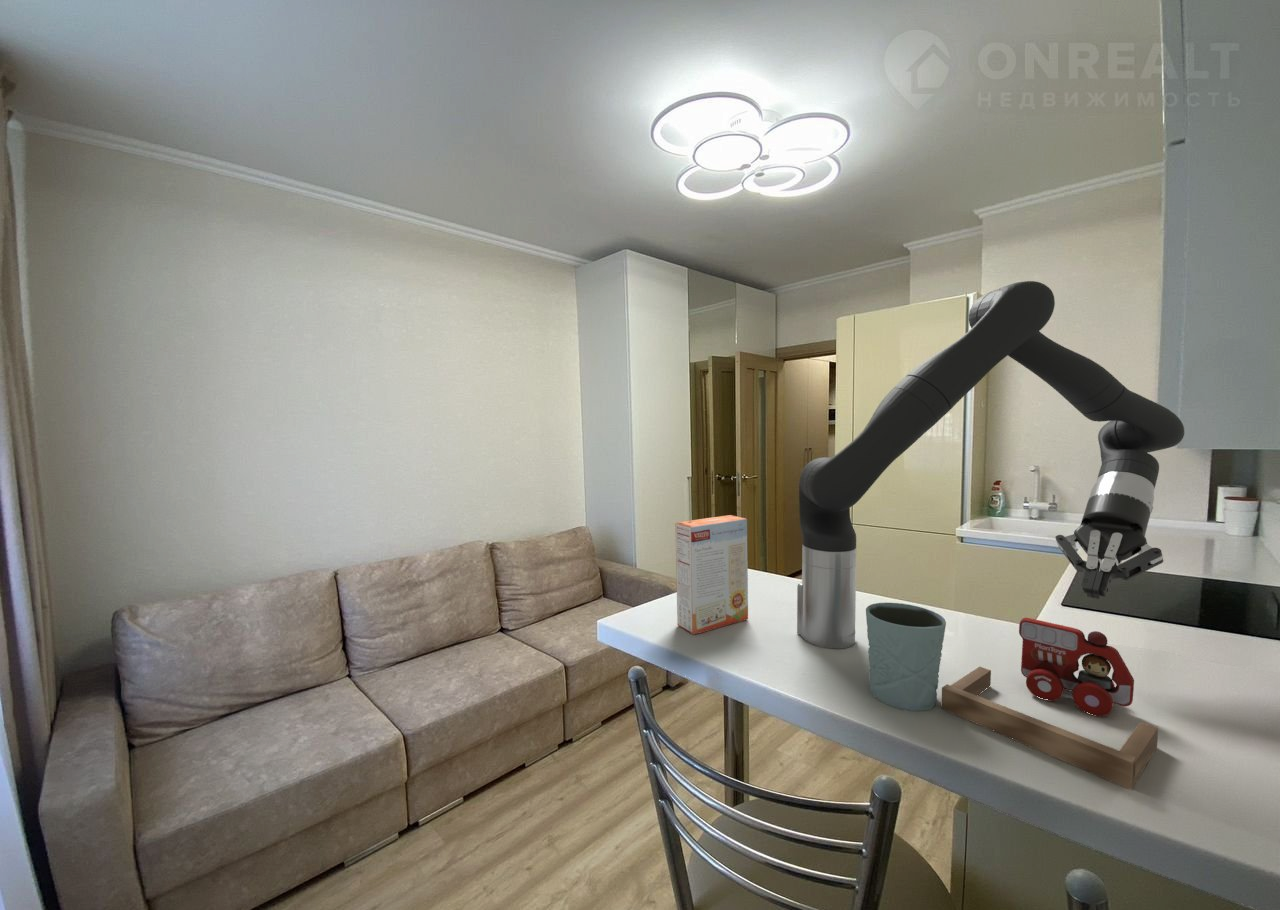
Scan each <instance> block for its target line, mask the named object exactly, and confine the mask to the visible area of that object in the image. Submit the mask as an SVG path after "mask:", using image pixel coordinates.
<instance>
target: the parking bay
mask: <svg viewBox="0 0 1280 910" xmlns="http://www.w3.org/2000/svg"><path fill="white" fill-rule="evenodd" d="M991 680H992V670H991V669H989V668H986V667H983V666H978V667H977V668H975V669H973V670H972V671H970V672H969V673H967V674H966V675H964V676H963V677H960V678H959V679H958V680H957V681H955V682H952V684H945V685H944V686H942V687H941V710H943V711H946V712H948V713H951V714H953V715H956V716H958V717H960V718H963V719H964V718H965V719H964V720H967V721H970V722H971V721H972V723H974V724H976V723H977V724H976V725H978V724H979V726H981V727H983V726H984V727H983V728H985V727H986V728H985V729H988V730H990V729H991V731H992V730H994V731H993V732H995V733H997V732H998V733H997V734H999V733H1000V735H1002V734H1003V735H1002V736H1004V737H1007V738H1009V737H1010V738H1009V739H1011V738H1013V739H1012V740H1014V741H1016V740H1017V741H1016V742H1018V741H1019V742H1018V743H1021V744H1023V745H1025V746H1028V747H1030V748H1033V749H1034V750H1037V751H1038V752H1039V751H1040V752H1041V753H1044V754H1046V755H1049V756H1051V757H1053V758H1056V759H1058V760H1061V761H1062V762H1065V763H1068V764H1070V765H1072V766H1075V767H1076V768H1079V769H1082V770H1083V771H1086V772H1088V773H1091V774H1093V775H1095V776H1098V777H1100V778H1102V779H1105V780H1107V781H1110V782H1111V783H1114V784H1117V785H1119V786H1121V787H1123V788H1126V789H1128V790H1132V789H1133V787H1134V786H1135V784H1136V782H1137V780H1138V779H1139V778H1140V776H1141V774H1142V773H1143V771H1144V769H1145V768H1146V767H1147V765H1148V763H1149V762H1150V760H1151V758H1152V757H1151V756H1153V755H1152V754H1154V753H1155V752H1156V750H1157V748H1158V735H1159V727H1157V726H1155V725H1151V724H1148V723H1146V722H1143V721H1140V722H1139V723H1138V724H1137V726H1136V727H1135V729H1134V730H1133V732H1132V733H1131V734H1130V736H1129V737H1128V738H1127V740H1126V741H1125V742H1124V744H1123V745H1122V747H1121V748H1120V750H1118V749H1116V748H1113V747H1110V746H1108V745H1105V744H1102V743H1100V742H1098V741H1094V740H1092V739H1089V738H1087V737H1084V736H1081V735H1079V734H1076V733H1075V732H1071V731H1069V730H1066V729H1065V728H1061V727H1059V726H1055V725H1053V724H1052V723H1051V724H1050V723H1049V722H1045V721H1043V720H1040V719H1038V718H1035V717H1034V716H1030V715H1028V714H1025V713H1023V712H1020V711H1018V710H1015V709H1012V708H1011V707H1010V708H1009V707H1007V706H1005V705H1002V704H999V703H996V702H994V701H991V700H990V699H987V698H984V697H981V696H980V695H981V694H982V693H983V692H982V691H984V690H985V689H986V688H988V687H989V686H990V685H992V684H991V683H992V682H991ZM990 687H991V686H990ZM990 687H989V688H990ZM989 688H988V689H989ZM985 691H986V690H985ZM985 691H984V692H985ZM981 692H982V693H981ZM980 693H981V694H980ZM979 694H980V695H979ZM977 695H978V696H977ZM1155 749H1156V750H1155ZM1154 751H1155V752H1154ZM1153 752H1154V753H1153ZM1150 757H1151V758H1150ZM1149 759H1150V760H1149ZM1146 764H1147V765H1146ZM1144 767H1145V768H1144Z"/></svg>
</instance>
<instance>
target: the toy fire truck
mask: <svg viewBox="0 0 1280 910" xmlns="http://www.w3.org/2000/svg"><path fill="white" fill-rule="evenodd" d="M1018 634H1019V636H1020V637H1021V639H1022V645H1021V663H1020V665H1021V666H1020V671H1021V674H1022V676H1023V677H1025V678H1026V679H1025V684H1026V687H1027V689H1028V691H1029V692H1030V693H1031V694H1032V695H1033V696H1034V695H1035V696H1034V697H1036V696H1038V697H1040V698H1043V699H1048V700H1051V701H1050V702H1055V701H1057V700H1059V699H1060V698H1061V697H1062V695H1063V693H1064V690H1067V691H1070V692H1072V693H1071V694H1072V701H1073V702H1074V704H1075V705H1076V707H1077V708H1078V709H1080V710H1081V711H1082V712H1084V711H1085V712H1088V713H1090V714H1093V715H1096V716H1095V717H1105V716H1108V715H1109V714H1111V712H1112V710H1113V706H1114V705H1118V706H1122V707H1129V706H1131V705H1132V704H1133V701H1134V687H1135V678H1134V677H1133V675H1132V674H1131V671H1130V670H1129V668H1128V666H1127V664H1126V663H1125V660H1124V659H1123V657H1122V655H1121V654H1120V652H1119V651H1118V649H1116V648H1115V647H1114V646H1112V645H1111V646H1110V645H1108V638H1107V636H1106V634H1104V633H1102V632H1101V631H1095V630H1094V631H1091V632H1089V633H1088V634H1087V638H1086V635H1085V634H1084V632H1083V631H1082V630H1081V629H1078V628H1074V627H1071V626H1066V625H1064V624H1063V625H1062V624H1057V623H1052V622H1048V621H1043V620H1039V619H1035V618H1031V617H1023V618H1022V619H1020V621H1019V624H1018ZM1081 657H1082V659H1081V666H1082V668H1083V669H1082V670H1079V669H1080V667H1079V666H1080V664H1079V660H1080V658H1081ZM1111 669H1113V671H1112V675H1111V677H1110V676H1109V674H1110V672H1111ZM1075 672H1078V676H1077V677H1076V675H1075ZM1114 683H1115V684H1114ZM1085 712H1084V713H1085ZM1090 714H1089V715H1090ZM1093 715H1092V716H1093Z"/></svg>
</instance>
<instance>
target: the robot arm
mask: <svg viewBox="0 0 1280 910" xmlns="http://www.w3.org/2000/svg"><path fill="white" fill-rule="evenodd" d="M1055 304H1056V302H1055V295H1054V292H1053V291H1052V289H1051V288H1050V287H1049V286H1048V285H1046V284H1044V283H1043V282H1039V281H1034V280H1024V281H1018V282H1014V283H1010V284H1008V285H1004V286H1003V287H999V288H997V289H995V290H992V291H990V292H987V293H985V294H983V295H982V296H980V297H979V298H977V299H976V300H975V301H974V302H973V304H971V307H970V309H969V312H968V323H969V327H970V329H969V330H968V331H967V332H966V333H964V334H963V336H961V337H959V338H958V339H957V340H955V341H954V342H953V343H951V344H949V345H947V347H944V349H942V350H940V351H938V352H937V353H935V354H934V355H932V356H930V357H928V358H927V359H926V360H925V361H923V362H922V363H920V364H919V365H917V366H916V367H915V368H914V369H912V370H911V371H909V373H908V374H906V375H905V376H904V377H903V378H902V379H901V380H900V381H899V382H898V383H897V384H896V385H894V387H893V388H892V389H891V390H890V391H889V392H888V393H887V394H886V395H885V396H884V398H883V399H882V400H881V401H880V403H879V405H878V406H877V407H876V409H875V411H874V412H873V414H872V415H871V418H870V419H869V421H868V423H867V424H866V425H865V427H864V428H863V430H862V431H861V432H860V433H859V435H858V436H857V437H855V439H853V440H852V441H851V442H850V443H849V444H848V445H846V446H845V447H844V448H842V449H841V450H840V451H839V452H838V453H836V454H835V455H833V456H832V457H828V456H827V457H824V456H823V457H818V458H815V459H813V460H811V461H810V462H808V463H807V464H806V465H805V466H804V467H803V469H802V471H801V473H800V476H799V480H798V481H799V483H798V506H799V507H798V508H799V509H798V512H799V527H800V531H801V536H802V537H801V538H802V539H801V540H802V547H801V549H802V550H801V551H802V553H801V554H802V555H801V557H802V559H801V561H802V562H801V563H802V565H801V568H802V569H801V570H802V571H801V582H799V583H797V589H796V591H797V595H796V596H797V599H796V604H797V605H796V607H797V608H796V609H797V611H796V616H797V617H796V619H797V621H796V623H797V624H796V633H797V635H798V634H799V635H800V636H801V637H802V638H803V639H804V640H805V641H806V642H809V644H812V645H814V646H819V647H822V648H830V649H844V648H848V647H852V646H853V645H854V644H855V642H856V610H857V609H856V608H857V607H856V606H857V605H856V601H857V599H856V598H857V597H856V595H857V594H856V593H857V589H856V588H857V535H856V534H857V533H856V531H855V529H854V526H853V523H852V519H851V511H850V510H851V508H852V507H853V506H854V505H855V504H857V503H858V502H859V501H860V500H861V499H862V497H864V496H865V494H866V493H867V492H868V491H869V489H870V488H871V487H872V486H873V485H874V483H875V482H876V481H877V480H878V479H879V478H880V477H881V475H882V474H883V473H884V472H885V471H886V470H887V468H889V467H890V465H892V463H893V462H895V461H896V459H898V458H899V457H900V456H901V455H902V454H904V453H905V452H906V451H907V450H908V449H910V447H911V446H913V444H915V443H916V442H917V441H918V440H919V439H920V438H921V437H922V436H923V435H924V434H925V433H927V432H928V431H929V430H930V429H932V427H933V426H935V425H936V424H937V423H938V422H939V421H940V420H941V419H942V418H943V417H945V415H947V414H948V413H949V412H950V411H951V410H952V409H953V408H954V407H955V406H956V405H957V403H959V402H960V401H961V399H963V398H964V397H965V396H966V395H967V394H968V393H969V392H970V391H971V390H972V389H973V388H974V387H975V386H977V384H979V383H980V381H982V379H983V378H985V376H986V375H987V374H988V373H990V372H991V370H993V369H994V367H996V366H997V365H998V364H999V363H1000V362H1001V361H1002V360H1004V359H1005V358H1006V357H1007V356H1008V357H1009V358H1011V359H1012V360H1014V361H1015V362H1017V363H1018V364H1020V365H1021V366H1023V367H1024V368H1026V369H1027V370H1028V371H1030V372H1031V373H1033V374H1035V376H1037V377H1039V378H1040V379H1041V380H1042V381H1043V382H1045V383H1047V385H1049V386H1050V387H1052V389H1054V390H1055V391H1056V392H1057V393H1058V394H1059V395H1061V396H1062V398H1064V399H1065V400H1066V401H1067V402H1068V403H1069V404H1071V406H1073V407H1074V408H1075V409H1076V410H1077V411H1078V412H1079V413H1081V415H1083V416H1084V417H1085V418H1086V419H1088V420H1090V421H1092V422H1106V423H1105V424H1104V425H1102V427H1101V428H1100V430H1099V431H1098V436H1097V439H1098V440H1097V441H1098V444H1099V449H1100V450H1099V451H1100V452H1099V453H1100V458H1101V466H1100V469H1099V471H1098V475H1097V478H1096V480H1095V483H1094V484H1093V486H1092V488H1091V490H1090V494H1089V496H1088V499H1087V503H1086V506H1085V508H1084V513H1083V516H1082V519H1081V523H1080V525H1079V526H1078V527H1077V528H1076V529H1075V530H1074V531H1073V534H1071V535H1066V536H1065V535H1062V534H1057V535H1056V536H1055V538H1054V539H1055V541H1056V543H1057V546H1058V549H1060V551H1061V552H1062V554H1063V555H1064V556H1065V557H1066V559H1067V560H1068V561H1069V563H1070V564H1071V566H1072V567H1073V569H1075V571H1077V572H1078V573H1084V575H1083V578H1082V582H1081V588H1082V591H1083V593H1085V594H1086V596H1087V598H1091V599H1097V600H1101V599H1102V597H1107V596H1108V595H1109V591H1110V588H1111V584H1112V581H1113V580H1115V579H1121V580H1122V581H1129V580H1130V579H1133V578H1135V577H1137V576H1139V575H1142V574H1143V573H1145V572H1147V571H1149V570H1151V569H1153V568H1155V567H1156V566H1159V565H1161V564H1162V563H1164V556H1163V553H1162V549H1160V548H1159V547H1152V546H1151V545H1149V544H1148V542H1147V538H1146V533H1147V528H1148V525H1149V521H1150V518H1151V514H1152V512H1153V510H1154V501H1155V500H1154V499H1155V496H1154V495H1155V488H1156V485H1157V480H1158V477H1159V472H1160V463H1159V461H1158V459H1156V457H1154V456H1153V455H1152V454H1150V453H1152V452H1157V451H1162V450H1165V449H1166V450H1167V449H1169V448H1172V447H1175V446H1176V445H1177V446H1178V445H1179V444H1180V443H1181V442H1182V441H1183V439H1184V437H1185V426H1184V424H1183V422H1182V419H1180V418H1179V417H1178V416H1177V415H1176V413H1174V412H1173V411H1171V410H1170V409H1169V408H1167V407H1166V406H1163V405H1161V404H1159V403H1158V402H1156V401H1153V400H1150V399H1149V398H1147V397H1145V396H1143V395H1140V394H1138V393H1137V392H1134V391H1131V390H1130V389H1128V388H1127V387H1126V386H1125V385H1123V384H1122V382H1120V381H1119V380H1118V379H1117V378H1116V377H1115V376H1114V375H1113V374H1112V373H1110V372H1109V371H1108V370H1107V369H1106V368H1105V367H1103V366H1102V365H1101V364H1099V363H1097V362H1096V361H1094V360H1093V359H1091V358H1089V357H1086V356H1085V355H1082V354H1080V353H1078V352H1076V351H1073V350H1071V349H1069V348H1067V347H1065V346H1063V345H1061V344H1059V343H1057V342H1056V341H1054V340H1053V339H1050V338H1049V337H1047V336H1046V335H1044V333H1042V332H1041V330H1042V329H1044V327H1045V326H1046V325H1047V323H1048V322H1049V321H1050V319H1051V318H1052V315H1053V313H1054V309H1055ZM1077 543H1078V544H1079V546H1080V547H1081V548H1082V550H1083V551H1084V552H1085V554H1086V555H1087V558H1086V560H1084V559H1083V558H1082V557H1081V556H1080V554H1079V553H1078V552H1077V551H1076V549H1077V545H1076V544H1077ZM1135 555H1136V556H1135ZM1125 560H1126V561H1125Z"/></svg>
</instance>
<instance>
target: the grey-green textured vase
mask: <svg viewBox="0 0 1280 910" xmlns="http://www.w3.org/2000/svg"><path fill="white" fill-rule="evenodd" d="M865 617H866V618H865V619H866V627H867V628H866V629H867V630H866V631H867V633H866V635H867V640H868V646H869V647H868V652H867V653H868V663H869V664H868V666H869V670H868V671H869V689H870V692H871V694H872V695H873V696H874V697H875V698H876V699H877V700H879V701H880V702H881V703H883V704H885V705H887V706H890V707H893V708H896V709H900V710H904V711H910V712H923V711H924V712H925V711H928V710H931V709H933V708H934V707H935V705H936V703H937V697H938V696H937V695H938V692H937V690H938V688H939V687H938V686H939V682H940V681H939V676H940V675H939V672H940V665H941V660H942V659H941V658H942V651H943V643H944V640H945V639H944V638H945V632H946V627H947V626H946V625H947V622H946V619H945V617H944V616H942V615H941V614H939V613H938V612H935V611H933V610H931V609H928V608H925V607H921V606H918V605H913V604H907V603H899V602H876V603H872V604H869V605H868V606H867V607H866V608H865Z"/></svg>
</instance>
